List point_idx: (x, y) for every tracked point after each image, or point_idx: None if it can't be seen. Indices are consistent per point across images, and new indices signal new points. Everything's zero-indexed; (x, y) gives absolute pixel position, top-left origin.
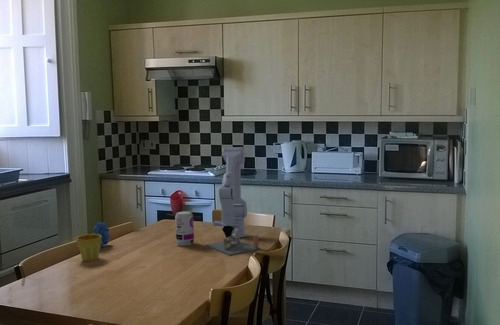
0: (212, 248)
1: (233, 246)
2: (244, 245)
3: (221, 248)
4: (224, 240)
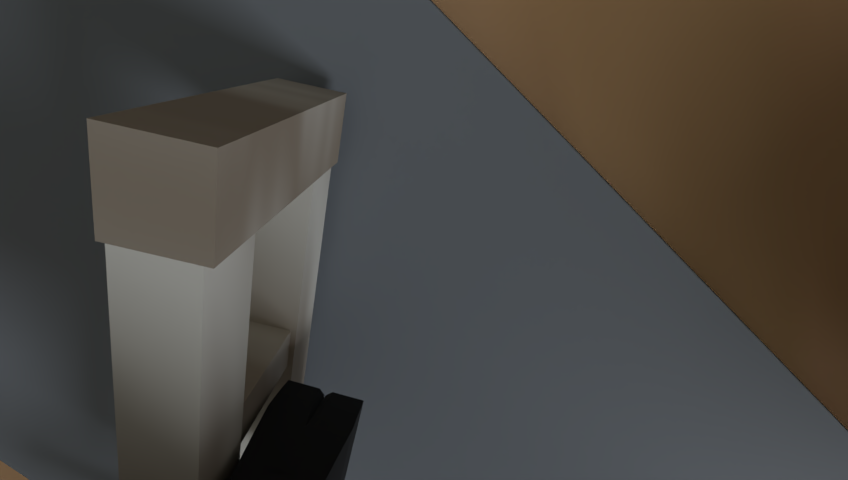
0: (686, 265)
1: None
2: (83, 420)
3: (447, 197)
4: (200, 121)
